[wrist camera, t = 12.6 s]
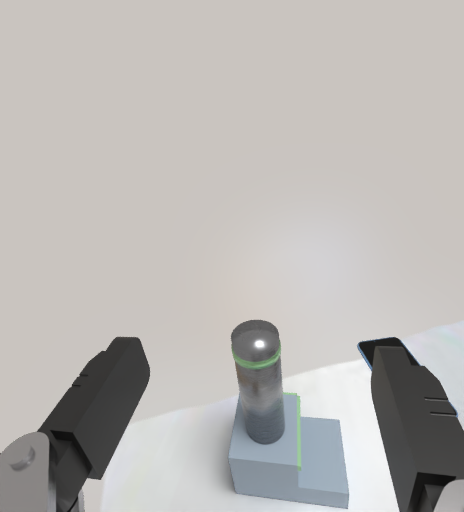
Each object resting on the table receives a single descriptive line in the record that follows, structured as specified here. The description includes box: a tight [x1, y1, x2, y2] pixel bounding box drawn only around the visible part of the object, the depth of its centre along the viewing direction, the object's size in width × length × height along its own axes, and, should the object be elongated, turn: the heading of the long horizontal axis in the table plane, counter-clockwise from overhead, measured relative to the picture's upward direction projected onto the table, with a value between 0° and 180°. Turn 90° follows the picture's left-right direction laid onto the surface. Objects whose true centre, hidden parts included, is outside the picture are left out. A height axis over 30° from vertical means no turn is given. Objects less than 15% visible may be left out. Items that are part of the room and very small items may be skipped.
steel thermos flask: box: [231, 320, 285, 445], centre depth 32 cm, size 5×5×13 cm
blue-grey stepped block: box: [228, 392, 349, 509], centre depth 36 cm, size 12×8×7 cm
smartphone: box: [357, 337, 458, 417], centre depth 46 cm, size 7×1×15 cm
